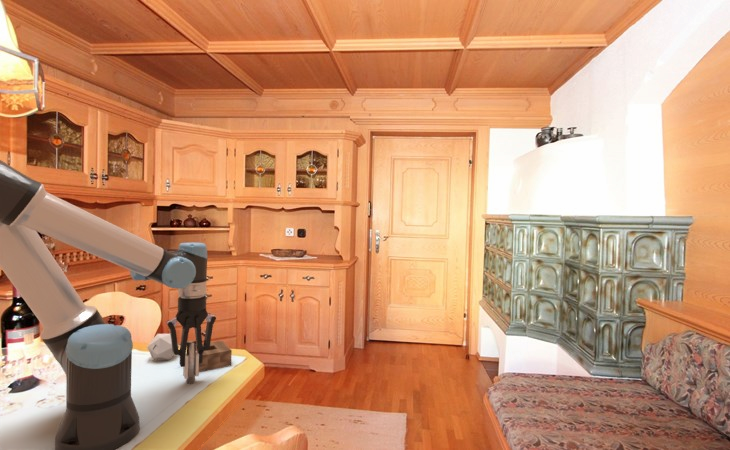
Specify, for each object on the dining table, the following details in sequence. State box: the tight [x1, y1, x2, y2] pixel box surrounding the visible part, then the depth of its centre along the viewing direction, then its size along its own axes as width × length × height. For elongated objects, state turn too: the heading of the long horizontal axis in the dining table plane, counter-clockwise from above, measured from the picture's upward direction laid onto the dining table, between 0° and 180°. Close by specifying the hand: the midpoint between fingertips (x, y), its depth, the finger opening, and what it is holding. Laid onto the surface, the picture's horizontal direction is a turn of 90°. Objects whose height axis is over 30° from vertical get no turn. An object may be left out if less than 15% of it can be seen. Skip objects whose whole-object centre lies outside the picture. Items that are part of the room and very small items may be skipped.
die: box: [146, 333, 180, 361], centre depth 128 cm, size 8×9×10 cm
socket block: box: [196, 340, 233, 373], centre depth 125 cm, size 11×11×5 cm
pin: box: [185, 340, 196, 385], centre depth 110 cm, size 2×2×12 cm
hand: (190, 375), depth 110 cm, fingers closed on pin, 2 cm apart
